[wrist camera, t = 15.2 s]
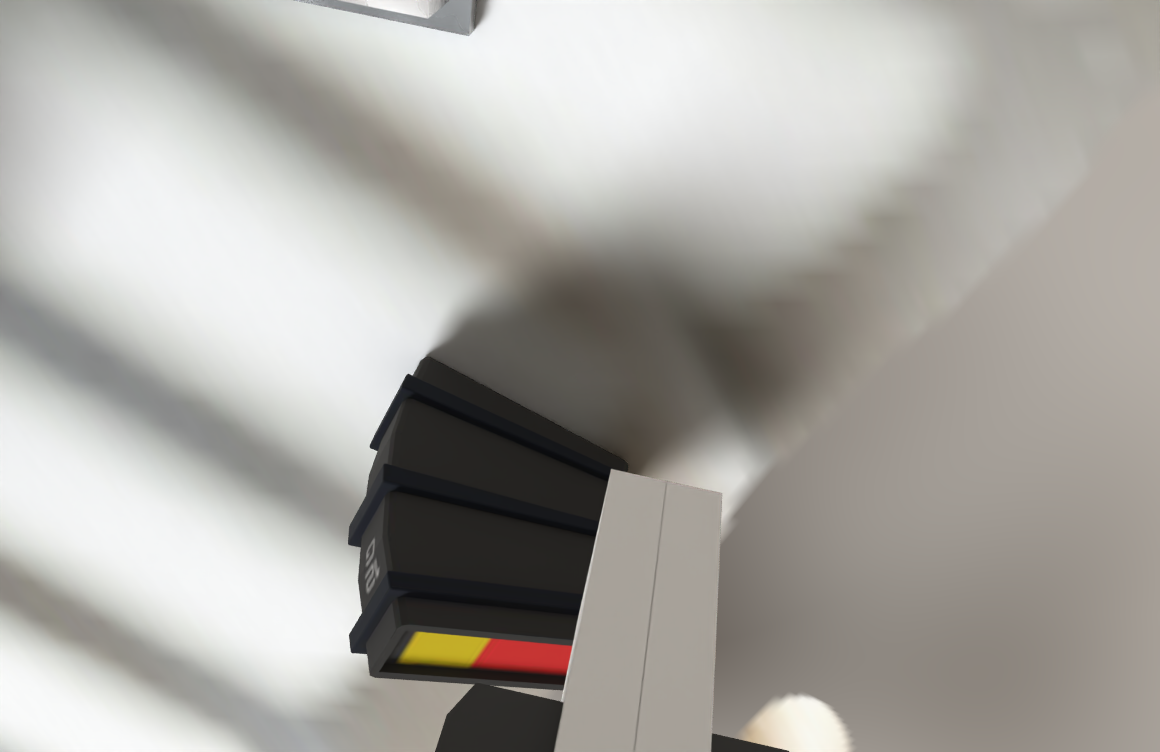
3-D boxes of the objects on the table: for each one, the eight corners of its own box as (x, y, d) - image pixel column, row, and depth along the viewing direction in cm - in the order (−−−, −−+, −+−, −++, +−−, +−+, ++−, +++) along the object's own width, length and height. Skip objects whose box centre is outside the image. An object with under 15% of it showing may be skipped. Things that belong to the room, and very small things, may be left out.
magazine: (351, 329, 45) (394, 616, 34) (607, 390, 51) (709, 647, 41) (321, 391, 47) (353, 681, 36) (571, 442, 53) (660, 702, 43)
